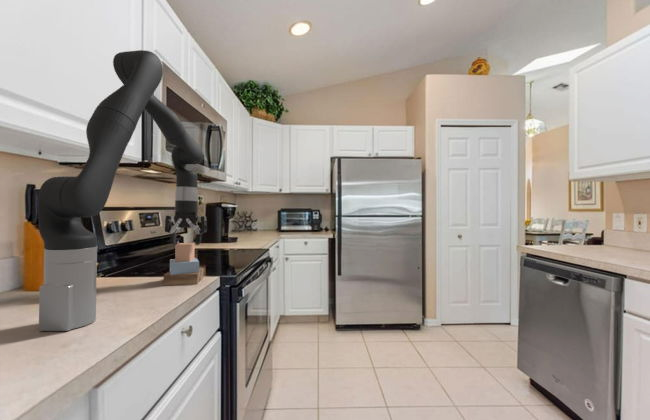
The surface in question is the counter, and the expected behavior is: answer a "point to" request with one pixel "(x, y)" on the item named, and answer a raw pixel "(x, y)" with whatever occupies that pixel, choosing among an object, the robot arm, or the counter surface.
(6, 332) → the counter surface
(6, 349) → the counter surface
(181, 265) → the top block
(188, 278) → the base block
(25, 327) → the counter surface
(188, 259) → the stack block
